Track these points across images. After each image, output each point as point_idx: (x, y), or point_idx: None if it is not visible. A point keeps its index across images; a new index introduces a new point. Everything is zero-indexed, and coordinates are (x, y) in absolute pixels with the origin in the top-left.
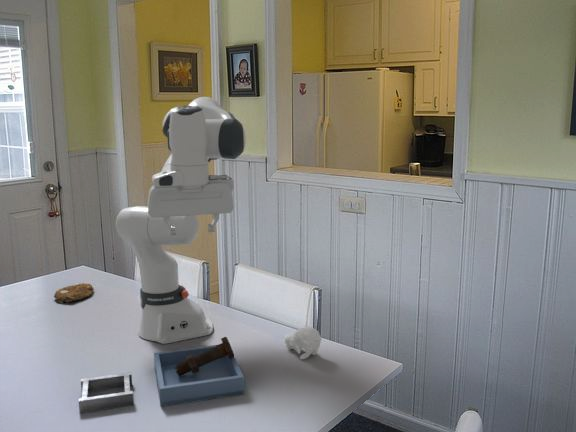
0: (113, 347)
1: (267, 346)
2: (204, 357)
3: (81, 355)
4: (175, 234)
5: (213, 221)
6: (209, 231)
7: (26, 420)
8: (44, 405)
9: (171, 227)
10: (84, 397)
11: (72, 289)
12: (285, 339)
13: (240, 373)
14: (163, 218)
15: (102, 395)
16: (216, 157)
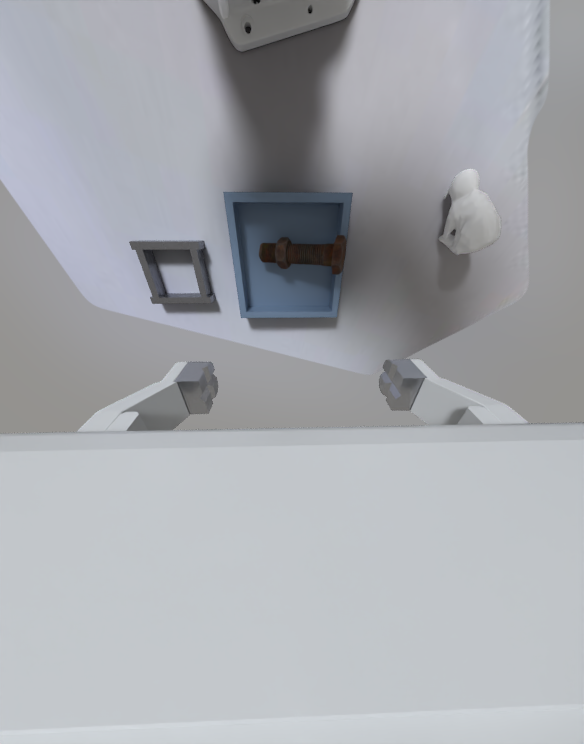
0: (122, 19)
1: (425, 160)
2: (300, 262)
3: (66, 56)
4: (217, 386)
5: (434, 413)
6: (381, 388)
7: (105, 297)
8: (107, 268)
9: (186, 416)
10: (155, 296)
11: None
12: (454, 186)
13: (336, 307)
14: (90, 423)
15: (176, 298)
16: None
